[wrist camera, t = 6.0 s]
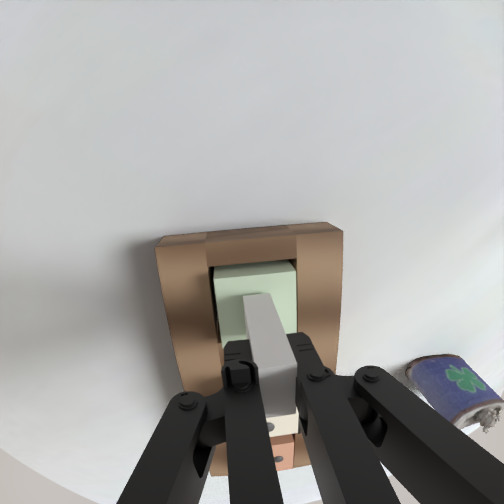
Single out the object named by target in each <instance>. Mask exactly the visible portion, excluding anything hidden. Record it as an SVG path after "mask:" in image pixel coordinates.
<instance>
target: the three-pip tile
mask: <svg viewBox="0 0 504 504" xmlns="http://www.w3.org/2000/svg"><path fill="white" fill-rule="evenodd" d="M270 441H271V446H272V450H273V455H274V460H275V465H276V470H277V471H281V470H287V469H293V457H294V440H293V436H292V434H287V435H281V436H274V437H270Z"/></svg>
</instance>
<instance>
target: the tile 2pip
mask: <svg viewBox="0 0 504 504" xmlns="http://www.w3.org/2000/svg"><path fill="white" fill-rule="evenodd" d="M298 418H299V413H298V410H297V407H296V414H291V415H284V416H278V417H270V418H266V421H267V426H268V431H269V436H270V437H274V436H281V435H287V434H293V433H298Z"/></svg>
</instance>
